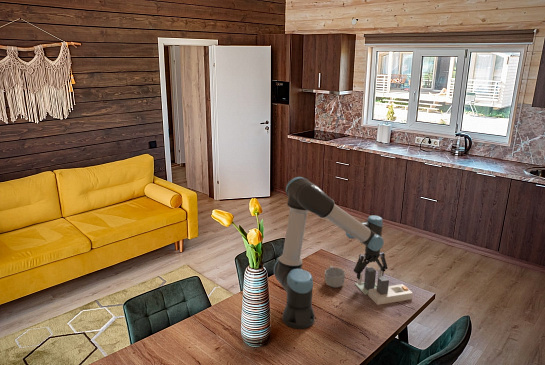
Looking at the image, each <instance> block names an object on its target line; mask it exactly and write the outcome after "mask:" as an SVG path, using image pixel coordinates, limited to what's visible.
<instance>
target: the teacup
mask: <svg viewBox="0 0 545 365" xmlns="http://www.w3.org/2000/svg"><path fill="white" fill-rule="evenodd" d="M345 278H346V272H345V270H344V269H343V268H340V267H333V265H329V267H328V268H326V269H325V270H324V281H325V283H326V285H328V287H331V288H333V289H334V288H336V289H337V288H340V287H342V286H343V285H344V284H345Z"/></svg>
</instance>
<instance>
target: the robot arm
mask: <svg viewBox="0 0 545 365" xmlns="http://www.w3.org/2000/svg"><path fill="white" fill-rule="evenodd" d="M285 193H286V196H287V204H286V206H287V207H288V208H289V212H288V217H287V218H288V219H287V224H286V230H285V235H284V236H285V238H284V243H283V249H282V254H281V255H280V256H279V257H278V260H277V261H276V262H275V264H274V265H273V275H274V276H275V279H276V280H277V282H279V284H280V285H281V287H282V288H283V290H285V292H286V305H285V307H284V309H283V311H282V322H283V324H285V325H286V326H287V327H289V328H292V329H296V330H298V329H299V330H300V329H301V330H303V329H307V328H310V327H312V326H313V325H314V323H315V321H316V320H315V319H316V316H315V312H314V308H313V305H312V304H313V291H314V290H313V288H314V279H313V275H312V273H310V272H309V271H307V269H306V270H305V269H302V268H303V262H304V261H303V259H302V258H301V255H302V248H303V242H304V236H305V230H306V226H307V225H306V224H307V219H308V214H309V212H310V213H313V214H314V215H316V216H317V217H319V218H321V219H327V221H329V222H330V223H332V224H334V225H335V226H336V227H338V228H339V229H341V230H343V231H344V232H345V236H346V237H347V239H355V240H357V241H359V242H360V243H361V244H363V245H364V246H365V247H364V251H365V253H364V254H359V255H358V260H357V262H356V264H355V267H354V268H353V272H354V273H355V274H356V279H357V283H358V284H359V285H361V282H363V281H362V280H363V274H362V272H363V271H364V270H365V269H366V268H367V265H369V263H375V262H376V264H377V266H378V275H377V278H378V277H383V276H384V273H385V272H386V270H388V265H387V264H388V263H387V260H386V253H385V252H383V251H381V249H382V248H383V247H384V243H385V241H384V239H383V237H382V232H383V227H384V226H383V225H384V223H383V222H384V221H383V220H384V219H383V217H381V216H379V215H376V214H375V215H373V214H372V215H370V216H368V217H367V220H365V221H359V220H358V219H356V218H355V217H354V216H353V215H351V214H349V213H348V212H347V211H346V210H344V209H342V208H341V207H339V206H338V205H337V204H335V200H334V199H332V198H331V197H330V196H328V195H327V193H325V191H323V190H322V189H321V188H320V187H319V186H318V185H316V184H315V183H313V182H311V181H310V180H309V179H308V178H305V177H302V176H296V177H294V178H292V179H291V180H289V181H288V183H286V186H285ZM379 257H380V259H381V262H380V259H379Z"/></svg>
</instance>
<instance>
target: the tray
mask: <svg viewBox="0 0 545 365" xmlns="http://www.w3.org/2000/svg"><path fill="white" fill-rule="evenodd" d="M354 285H355V286H356V287H357V289H359V291H361V292H362V293H363V295H365V296H367V295H368V294H369V290H367V289H366V288H365V287H364V281H362V282H361V285H359V284H358V282H355V283H354ZM374 288H377V283H376V282H375V287H374Z"/></svg>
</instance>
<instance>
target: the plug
mask: <svg viewBox="0 0 545 365" xmlns="http://www.w3.org/2000/svg"><path fill="white" fill-rule="evenodd" d="M364 270H365V272H364V281H363V282H364V287H365V288H366V289H367V290H369V289H374V287H375V283H376V276H377V270H376V269H375V268H374V267H372V266H371V267H365V268H364Z"/></svg>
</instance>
